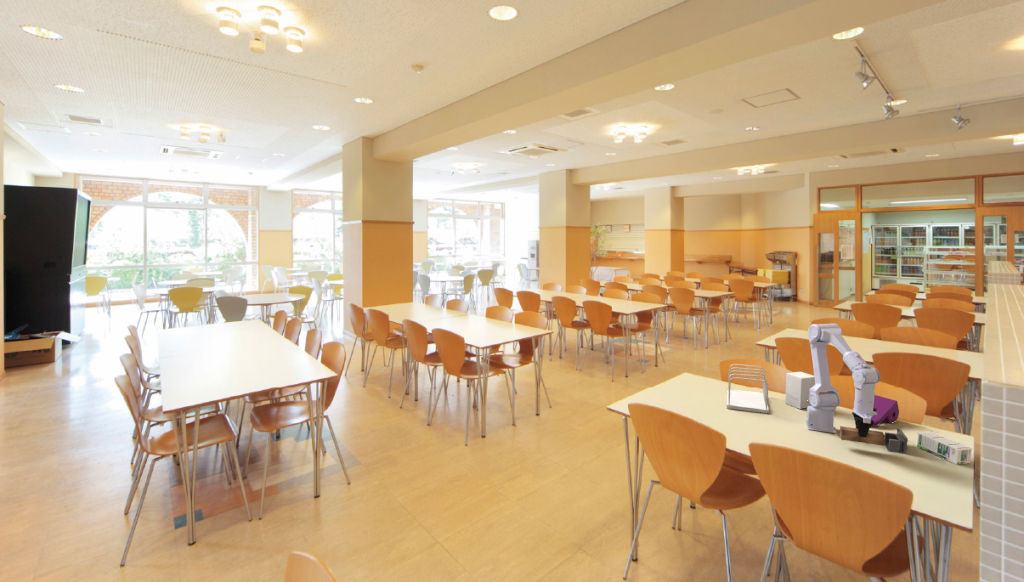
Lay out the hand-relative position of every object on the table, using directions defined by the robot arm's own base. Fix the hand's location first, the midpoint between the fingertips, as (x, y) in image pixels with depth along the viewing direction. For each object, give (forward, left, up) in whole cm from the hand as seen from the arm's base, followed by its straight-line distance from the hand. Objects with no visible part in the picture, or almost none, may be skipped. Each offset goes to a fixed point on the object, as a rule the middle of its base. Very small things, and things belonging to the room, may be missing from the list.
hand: (861, 434), depth 175 cm
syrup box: (+22, +13, -3) cm, 26 cm away
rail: (0, 0, -3) cm, 3 cm away
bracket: (+11, +8, -6) cm, 15 cm away
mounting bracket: (+11, +34, -7) cm, 36 cm away
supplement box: (-16, +43, -6) cm, 46 cm away
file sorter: (-39, +37, -7) cm, 54 cm away
